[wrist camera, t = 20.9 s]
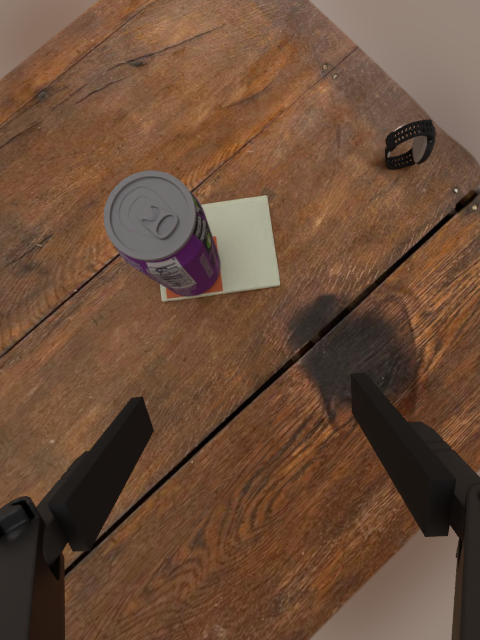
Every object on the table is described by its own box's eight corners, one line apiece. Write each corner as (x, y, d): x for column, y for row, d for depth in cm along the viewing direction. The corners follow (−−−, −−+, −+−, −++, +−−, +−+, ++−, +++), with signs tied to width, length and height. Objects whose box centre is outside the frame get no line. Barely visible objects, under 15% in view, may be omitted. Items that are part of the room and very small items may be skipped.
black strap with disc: (408, 182, 29) (443, 149, 24) (367, 170, 29) (393, 135, 24) (417, 151, 29) (453, 113, 24) (377, 140, 29) (404, 99, 24)
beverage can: (232, 258, 28) (222, 198, 16) (199, 309, 27) (162, 287, 15) (183, 227, 28) (136, 144, 16) (149, 276, 28) (75, 230, 16)
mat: (266, 198, 29) (267, 194, 28) (279, 286, 28) (280, 284, 27) (154, 214, 29) (151, 210, 28) (164, 302, 28) (161, 301, 27)
